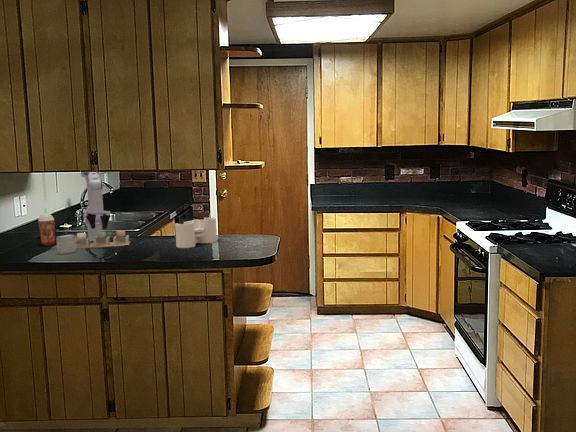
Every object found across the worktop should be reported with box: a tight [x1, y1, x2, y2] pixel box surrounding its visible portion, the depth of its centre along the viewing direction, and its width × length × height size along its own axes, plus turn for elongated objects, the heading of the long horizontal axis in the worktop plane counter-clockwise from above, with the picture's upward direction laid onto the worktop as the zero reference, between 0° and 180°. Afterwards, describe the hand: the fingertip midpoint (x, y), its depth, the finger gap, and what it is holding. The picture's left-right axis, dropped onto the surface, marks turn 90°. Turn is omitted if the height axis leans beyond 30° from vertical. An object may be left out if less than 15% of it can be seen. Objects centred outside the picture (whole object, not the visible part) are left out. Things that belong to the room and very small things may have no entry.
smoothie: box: [37, 207, 56, 246], centre depth 333 cm, size 8×8×20 cm
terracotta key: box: [115, 230, 126, 238], centre depth 326 cm, size 4×4×4 cm
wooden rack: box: [75, 234, 131, 250], centre depth 325 cm, size 12×28×4 cm, turn 100°
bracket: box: [174, 217, 218, 249], centre depth 319 cm, size 25×10×12 cm, turn 144°
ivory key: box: [76, 232, 87, 240], centre depth 323 cm, size 4×4×4 cm
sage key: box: [97, 231, 107, 239], centre depth 325 cm, size 4×4×4 cm
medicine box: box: [55, 234, 77, 256], centre depth 307 cm, size 8×4×9 cm, turn 141°
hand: (99, 228), depth 319 cm, fingers open, 7 cm apart
